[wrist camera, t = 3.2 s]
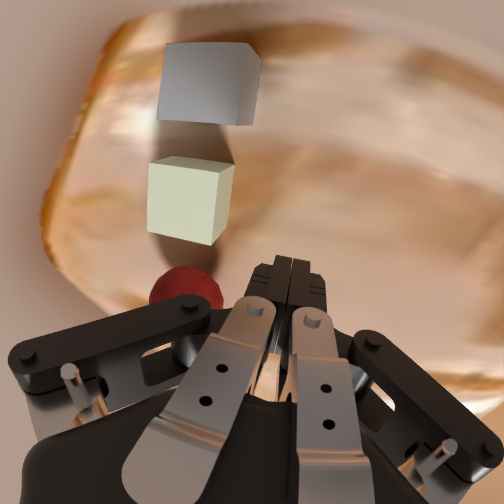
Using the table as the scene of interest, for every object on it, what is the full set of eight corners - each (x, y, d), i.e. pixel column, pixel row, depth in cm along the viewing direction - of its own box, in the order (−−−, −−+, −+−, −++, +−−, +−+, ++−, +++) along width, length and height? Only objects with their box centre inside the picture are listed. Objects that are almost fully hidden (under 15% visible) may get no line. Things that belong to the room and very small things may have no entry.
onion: (200, 316, 28) (167, 375, 21) (160, 271, 26) (113, 322, 19) (246, 289, 25) (220, 353, 18) (203, 238, 24) (158, 288, 17)
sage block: (174, 155, 22) (149, 162, 18) (235, 164, 21) (219, 172, 18) (170, 214, 24) (146, 231, 20) (227, 225, 23) (211, 245, 20)
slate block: (196, 57, 18) (166, 43, 14) (262, 60, 18) (247, 43, 13) (188, 119, 20) (156, 119, 16) (253, 125, 20) (235, 125, 15)
